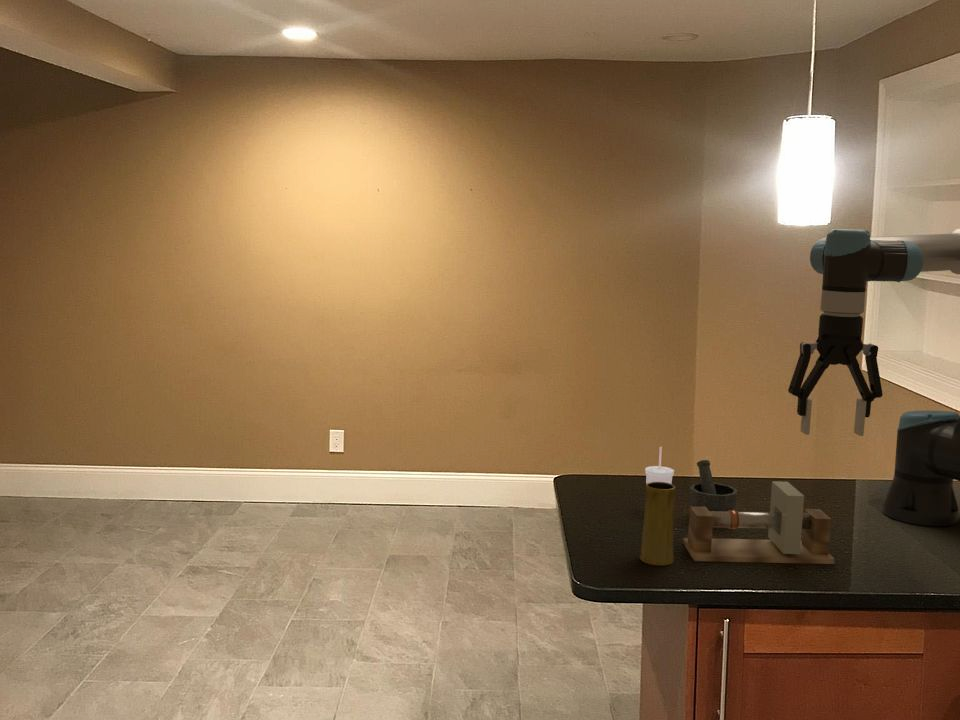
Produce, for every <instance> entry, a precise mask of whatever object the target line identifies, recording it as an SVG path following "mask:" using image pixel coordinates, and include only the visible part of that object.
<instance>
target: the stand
mask: <svg viewBox="0 0 960 720" xmlns="http://www.w3.org/2000/svg"><path fill="white" fill-rule="evenodd" d="M803 513H809V514H810V515H811V518H812V526H811V529H802V532H801V544H800V554H783V553H782V551H781V550H780V549H779V548H778V547H777V546H776V545H775V544H774V543H773V542H772V540H771V539H752V538H751V539H749V538H747V539H746V538H745V539H744V538H713V529H714V527H713V515H712V514H711V513H710V512H709V510H708V509H707V508H706V507H699V506H692V505H690V506H689V519H688V533H687V537H683V538H682V544H683V546H684V547H685V548H686V550H687V552H688V553H689V555H690V557H691V559H692V560H693V562H718V563H719V562H721V563H722V562H724V563H725V562H727V563H766V564H767V563H768V564H769V563H771V564H773V563H774V564H775V563H776V564H778V563H779V564H807V565H808V564H811V565H812V564H816V565H819V564H820V565H834V564H835V559H836V558H835V557H833V555H831V554H830V553H829V550H830V538H831V526H832V518H831V517H830V516H828V515H827V514H826V513H825V512H824V511H823V510H821V509H820V508H803Z"/></svg>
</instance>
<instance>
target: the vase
mask: <svg viewBox="0 0 960 720" xmlns="http://www.w3.org/2000/svg"><path fill="white" fill-rule="evenodd" d="M645 486H646V487H645V488H646V489H645V503H644V504H645V505H644V517H643V527H642V538H641V546H640V547H641V549H640V555H639V559H640V561H641V562H643V563H644V564H648V565H651V566H657V567H659V566H660V567H662V566H663V567H664V566H670V565H672V564H673V563H674V560H675V559H674V517H675V503H676V486H675V484H673V483H671V484H670V483H666V482H650V483H647V485H646V484H645Z"/></svg>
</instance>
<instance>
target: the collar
mask: <svg viewBox="0 0 960 720" xmlns="http://www.w3.org/2000/svg"><path fill="white" fill-rule="evenodd" d="M770 490H771V492H770V505H769V512H773V513H782V521H781V529H771V528H768V529H767V530H768V533H767V537H768V538H769V540H772V542H773V543H774V544H775V545H776V546H777V547H778V548H779V549H780V550H781V551H782V553H783V554H800V544H801V540H802V531H803V529H802V519H803V513H804V504H805V495H804V494H803V493H801V492H800V491H799V490H798V489H797V488H796V487H794V486H793V485H792V484H791V483H790V482H789V481H771V489H770Z"/></svg>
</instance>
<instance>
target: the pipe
mask: <svg viewBox="0 0 960 720" xmlns="http://www.w3.org/2000/svg"><path fill="white" fill-rule="evenodd" d="M709 512H710V513H711V514H712V515H713V528H724V529H725V528H727V529H728V530H738V529H769V528H771V529H781V521H782V513H773V512H770V511H769V512H767V511H765V512H763V511H762V512H761V511H738V510H737V509H735V510H734V509H732V510H728V511H709ZM811 526H812V518H811V515H810V514H809V513H804V512H803V519H802V530H803V529H811Z"/></svg>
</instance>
